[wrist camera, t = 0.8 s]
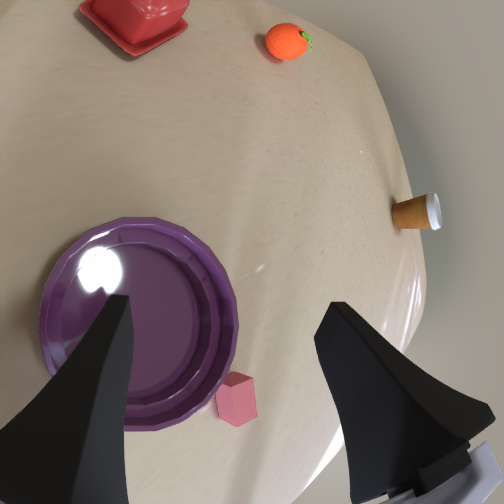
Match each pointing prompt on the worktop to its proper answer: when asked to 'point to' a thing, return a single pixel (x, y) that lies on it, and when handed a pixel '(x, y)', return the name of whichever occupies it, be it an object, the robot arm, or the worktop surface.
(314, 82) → the worktop surface
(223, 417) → the eraser
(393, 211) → the disposable coffee cup
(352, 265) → the worktop surface
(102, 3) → the butter dish
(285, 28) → the clementine
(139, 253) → the bowl
